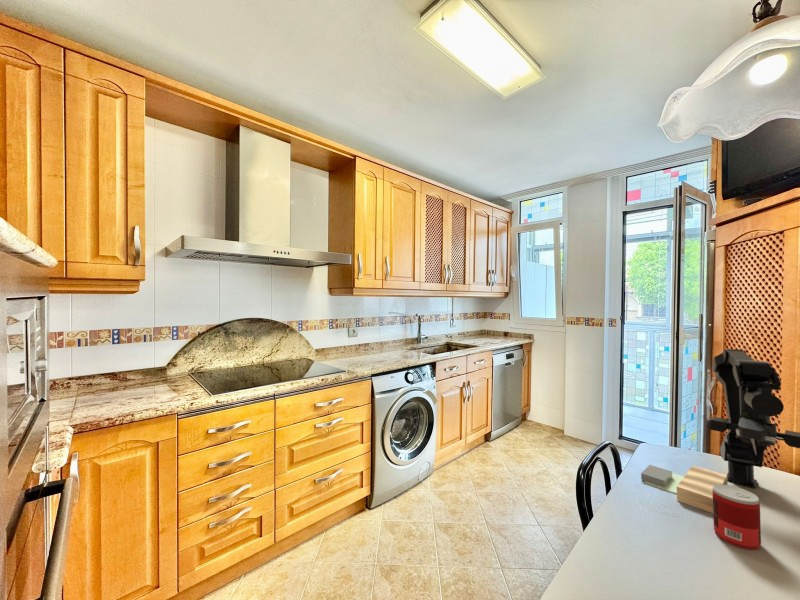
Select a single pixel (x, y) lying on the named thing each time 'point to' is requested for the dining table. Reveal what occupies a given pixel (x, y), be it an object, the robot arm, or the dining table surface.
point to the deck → (699, 487)
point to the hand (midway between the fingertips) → (756, 462)
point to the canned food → (737, 516)
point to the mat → (671, 485)
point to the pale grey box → (656, 475)
